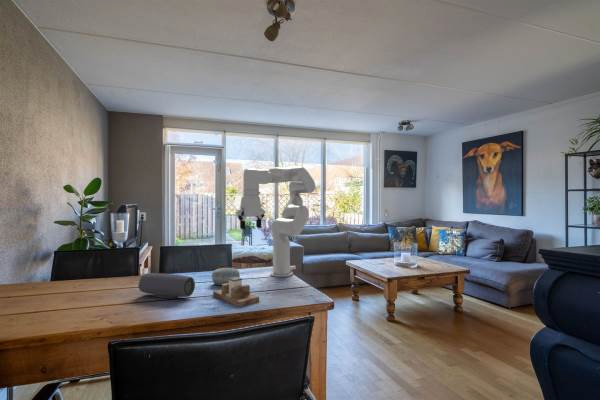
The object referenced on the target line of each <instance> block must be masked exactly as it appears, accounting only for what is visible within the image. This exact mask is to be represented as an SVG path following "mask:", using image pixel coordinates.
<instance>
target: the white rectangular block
mask: <svg viewBox="0 0 600 400" xmlns="http://www.w3.org/2000/svg"><path fill="white" fill-rule="evenodd" d="M241 285H243V278H242V277H240V278H239V277H233V278H229V294H231V288H233V287H237V286H241Z"/></svg>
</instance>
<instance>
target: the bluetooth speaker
mask: <svg viewBox="0 0 600 400" xmlns="http://www.w3.org/2000/svg"><path fill="white" fill-rule="evenodd" d="M195 288H196V283H195V279H194V277H192V276H187V275H181V274H180V275H179V274H173V273H158V272H157V273H156V272H148V273H144V274H142V276H141V277H140V279H139V281H138V289H139V291H140V292H141V293H145V294H149V295H155V297H156V298H160V299H170V300H171V299H173V300H174V299H177V298H185V297H186V298H187V297H188V298H189V297H190V296H192V295H193V293H194V291H195Z"/></svg>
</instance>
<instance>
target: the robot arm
mask: <svg viewBox="0 0 600 400" xmlns="http://www.w3.org/2000/svg"><path fill="white" fill-rule="evenodd" d="M242 182H243V187H242V189H243V195H242V196H241V199H240V206H239V209H238V210H237V211H235V215H236V217H237V219H238V220H239V228H240V230H245V229H246V219H247V218H249V217H255V218H256V222H255V223H256V228H257V229H259V228H260V229H261V228H262V221H263V218H264V216H265V213H266V210H264V209H263V208H262V203H261V197H260V194H261V191H260V185H268V184H280V183H287V182H289V184H288V190H289V200H288V202H287V204H286V205H285V206H284V208H283V210H282V212H281V217H282V218H275V219H274V220H272V223H271V234H272V241H273V242H272V246H273V247H272V262H273V263H272V266H273V267H272V271H270V273H269V274H270V276H272V277H277V278H286V277H291V276H293V271H292V270H295V269H297V266H296V265H291V242H290V240H289V237H292V238H293V237H298V236H299V235H301V233H302V232H303V229H304V227H305V226H306V224H307V222H308V220H309V215H310V213H309V212H310V211H309V209H308V207H307V206H305V205H303V204H304V200H303V198H302V197H301V194H312V193H314V192H315V190H316V182H315V180H314V178H313V177H312V176H311V174H310V172H309V171H308V169H306V168H305V167H304V166H299V165H298V166H280V167H278V166H277V167H271V168H263V169H257V168H245V169H244V170H243V181H242Z"/></svg>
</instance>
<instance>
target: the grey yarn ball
mask: <svg viewBox="0 0 600 400" xmlns="http://www.w3.org/2000/svg"><path fill="white" fill-rule="evenodd" d="M233 277H239V278H241V277H240V272H239V269H237V268H235V267H219V268H216V269H215V270H213V271H212V273H211V279H212V280H211V281H212V283H213V284H214V285H216V286H222V284H225V283H229V278H233Z"/></svg>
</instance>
